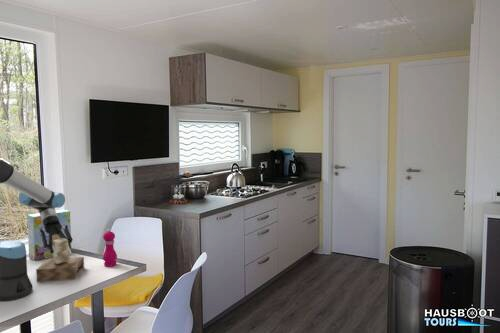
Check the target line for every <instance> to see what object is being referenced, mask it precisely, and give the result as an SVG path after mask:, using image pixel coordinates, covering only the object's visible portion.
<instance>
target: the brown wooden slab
mask: <svg viewBox="0 0 500 333" xmlns="http://www.w3.org/2000/svg"><path fill="white" fill-rule="evenodd" d="M84 269H85V258H84V256H79V257H78V256H77V257H69V261H68V262H64V263H59V264H56V263H54V262H53V261H52V258H49V259H48V258H46V260H45V261H44V262H43V263H42V264H41V265H39V266H38V268H36V269H35V276H36V282H37V283H40V282H51V281H52V282H53V281H64V280H65V281H66V280H77V279H78V270H84Z"/></svg>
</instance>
